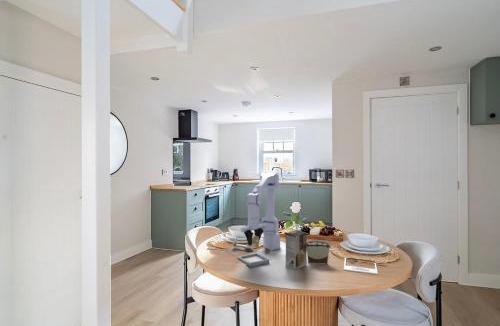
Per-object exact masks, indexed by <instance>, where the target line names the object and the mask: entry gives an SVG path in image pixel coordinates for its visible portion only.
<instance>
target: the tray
mask: <svg viewBox="0 0 500 326" xmlns="http://www.w3.org/2000/svg"><path fill="white" fill-rule="evenodd" d="M255 256H257V257H258V258H260V259H261V260H257V261H252V262H250V261H248V260H246V259H247V258H250V257H255ZM237 259H238V260H239V261H241V262H242V263H245V266H246V267H248V268H249V269H251V268H255V267H259V266H264V265H268V264H270V262H271V261H270V258H268V257H265V256H264V255H261V254H260V253H259V252H258V253H257V252H253V253H248V254H242V255H237Z"/></svg>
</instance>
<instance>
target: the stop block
mask: <svg viewBox="0 0 500 326" xmlns="http://www.w3.org/2000/svg"><path fill="white" fill-rule="evenodd" d="M259 244H260V241H259V236H256V235H255V234H253V236H252V245H251V246H250V245H248V243H247V245H246V246H249V247H251V248H253V249H254V248H258V247H259Z"/></svg>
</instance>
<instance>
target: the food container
mask: <svg viewBox="0 0 500 326" xmlns="http://www.w3.org/2000/svg"><path fill="white" fill-rule="evenodd" d="M330 248H331V245H330V243H329V242H327V241H324V240H308V241H307V263H308V264H314V265H328V263H329V255H330V254H329V253H330V252H329V251H330Z"/></svg>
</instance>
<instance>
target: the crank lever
mask: <svg viewBox="0 0 500 326" xmlns="http://www.w3.org/2000/svg"><path fill="white" fill-rule="evenodd" d="M232 247H242V248H246V249H251V247H249V246H247V245H246V244H239V243H238V237H232Z"/></svg>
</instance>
